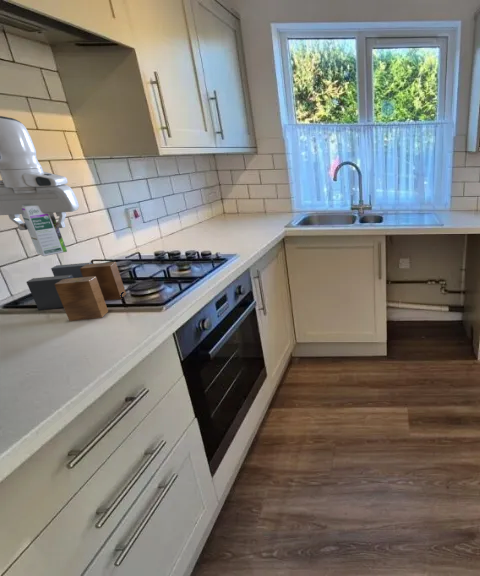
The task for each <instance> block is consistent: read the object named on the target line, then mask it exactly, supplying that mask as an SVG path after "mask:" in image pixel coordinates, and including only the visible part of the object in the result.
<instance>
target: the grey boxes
mask: <svg viewBox="0 0 480 576" xmlns="http://www.w3.org/2000/svg"><path fill="white" fill-rule="evenodd" d="M86 264H93V263H92V262H80V263H79V262H78V263H69V264H58V265H54V266H53V267H51V268H50V270H51V273H52V275H53V276H44V277H34V278H33V277H32V278H31V279H29V280H27V281H26V282H25V283H26V285H27V288H28V289H29V292H30V294H31V296H32V298H33V301H34V303H35V305H36V307H37V310H38V311H43V310H44V311H45V310H51V309H62V308H63V309H64V307H63V304H62V302H61V299H60V297H59V294H58V292H57V290H56V287H55V285H54V284H56V283H57V282H59V281H61V280H62V279H70V278H81V277H83V276H82V273H81V270H80V268H81V267H83V266H85V265H86Z"/></svg>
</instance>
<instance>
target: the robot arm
mask: <svg viewBox="0 0 480 576" xmlns="http://www.w3.org/2000/svg"><path fill="white" fill-rule="evenodd" d="M37 157H38V156H37V150H36V147H35V144H34V142H33V139H32V137H31V134H30V132H29V131H28V129H27V127H26V126H25V124H23V123H22V122H21V121H20V120H18V119H16V118H14V117H8V116H5V115H0V177H1V180H0V216H8V218H9V220H10V221H12V222H13V223H14V224H16V225H17V227H18V230H19V231H28V229H27V227H26V224H25V222H24V221H23V220H22V219H21V218H20V217H21V215H22V214H24V212H23V210H22V205H38V206H39V208H40V210H41V212H42V213H53V214H54V213H55V215H56V217H58V219H57V221H56V222H55V224H56V227H57V228H59V229H64V228H66V223H65V220H66V217H67V213H73V212H76V211H78V210H79V208H80V204H79V201H78V198H77V196H76V194H75V192H74V190H73V189H72V187H70V186H69V185H67V184H68V183H69V180H68V178H67V177H66V176H64V175H59V174H56V173H51V172H47V171H44V169H43V166H42V165H41V163H40V162H39V160H38V158H37Z"/></svg>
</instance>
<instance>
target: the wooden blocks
mask: <svg viewBox="0 0 480 576" xmlns="http://www.w3.org/2000/svg"><path fill="white" fill-rule="evenodd" d="M80 270H81V273H82V276H83V277H81V278H70V279H62V280H61V281H59V282H57V283H56V284H54V285H55V287H56V290H57V292H58V294H59V297H60V299H61V302H62V304H63V309H64V311H65V314H66V316H67V319H68V322H75V321H83V320H91V319H100V318H103V317H104V316H106V314H108V313H109V309H108V307H107V306H108V305H107V303H106V302H107V301H115V300H122V299H123V298H124V297H125V296H126V295H127V292H126V289H125V286H124V283H123V280H122V277H121V273H120V270H119V268H118V264H117V262H116V261H109V262H108V261H107V262H98V263H92V264H86V265H85V266H83V267H81V268H80ZM122 292H124V293H123V294H122V297H123V298H121V296H120V295H121V293H122Z"/></svg>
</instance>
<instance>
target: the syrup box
mask: <svg viewBox="0 0 480 576" xmlns="http://www.w3.org/2000/svg"><path fill="white" fill-rule="evenodd" d="M22 210H23V212H24V214H21V216H22V219H23V223H25V224H26V227H27V232H28V234H29V237H30V239H31V242H32V244H33V246H34V249H35V252H36V253H37V255H40V256H41V257H47V256H52V255H53V256H54V255H58V254H62V253H67V252H68V249H67V247H66V244H65V241H64V239H63V236H62V233H61V230H60V228H57V227H56V224H55V222H57V219H56V216H55V214H54V213H42V212H41V210H40V208H39V206H38V205H22Z"/></svg>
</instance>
